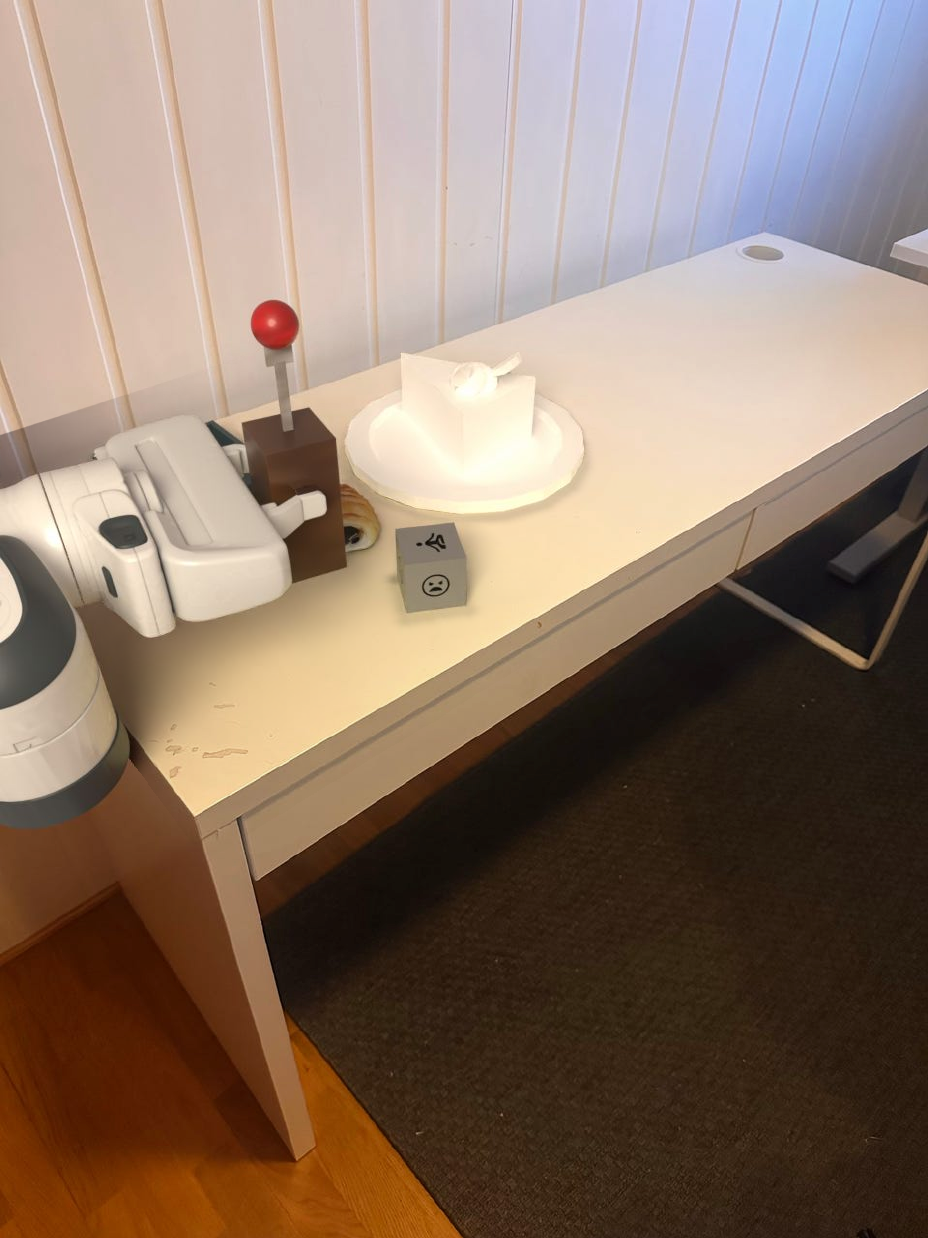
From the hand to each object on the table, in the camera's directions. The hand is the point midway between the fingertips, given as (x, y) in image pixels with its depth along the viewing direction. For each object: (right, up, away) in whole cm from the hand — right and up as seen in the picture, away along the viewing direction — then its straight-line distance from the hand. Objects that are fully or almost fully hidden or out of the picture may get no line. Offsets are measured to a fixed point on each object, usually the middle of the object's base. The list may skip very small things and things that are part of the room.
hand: (306, 476), depth 64 cm
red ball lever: (-1, -6, +4) cm, 7 cm away
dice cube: (+9, -8, +12) cm, 17 cm away
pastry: (0, -2, +19) cm, 19 cm away
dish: (+11, +8, +30) cm, 33 cm away
